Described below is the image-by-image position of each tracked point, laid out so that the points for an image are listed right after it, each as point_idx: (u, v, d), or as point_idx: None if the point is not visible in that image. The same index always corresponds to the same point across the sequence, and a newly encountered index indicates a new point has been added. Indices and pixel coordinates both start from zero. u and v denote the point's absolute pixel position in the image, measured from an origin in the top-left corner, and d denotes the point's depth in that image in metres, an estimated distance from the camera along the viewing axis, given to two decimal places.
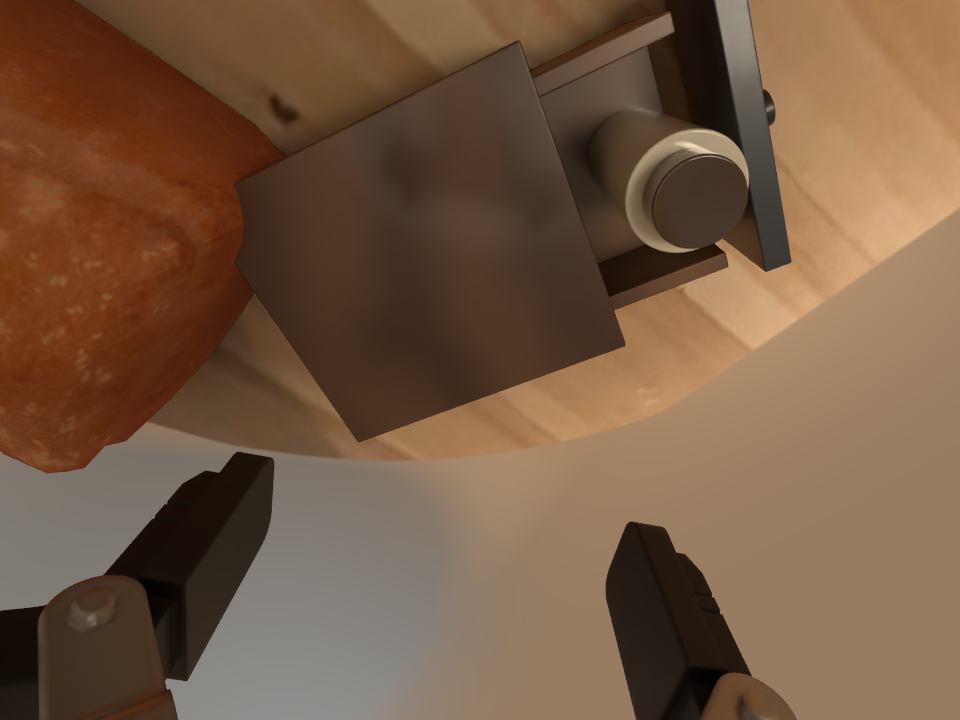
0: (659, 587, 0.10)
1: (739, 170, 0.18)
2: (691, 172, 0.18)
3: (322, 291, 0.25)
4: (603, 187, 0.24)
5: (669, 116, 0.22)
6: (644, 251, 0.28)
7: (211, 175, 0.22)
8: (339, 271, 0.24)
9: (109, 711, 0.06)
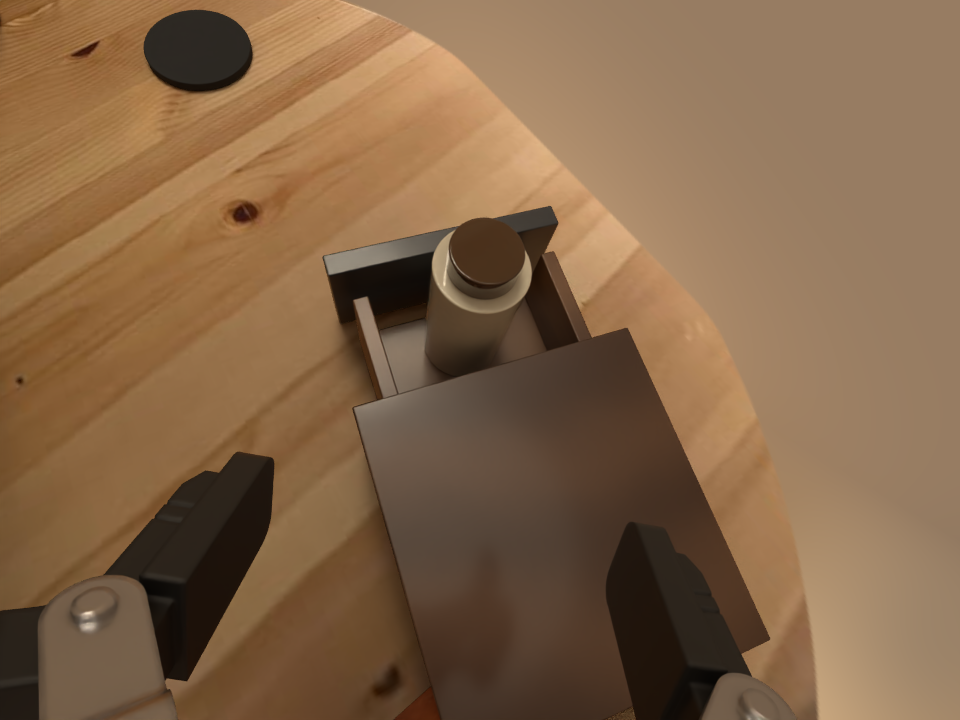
0: (659, 587, 0.10)
1: (463, 224, 0.22)
2: (461, 256, 0.22)
3: (569, 643, 0.21)
4: (480, 350, 0.27)
5: None
6: (543, 328, 0.31)
7: None
8: (546, 617, 0.22)
9: (109, 711, 0.06)
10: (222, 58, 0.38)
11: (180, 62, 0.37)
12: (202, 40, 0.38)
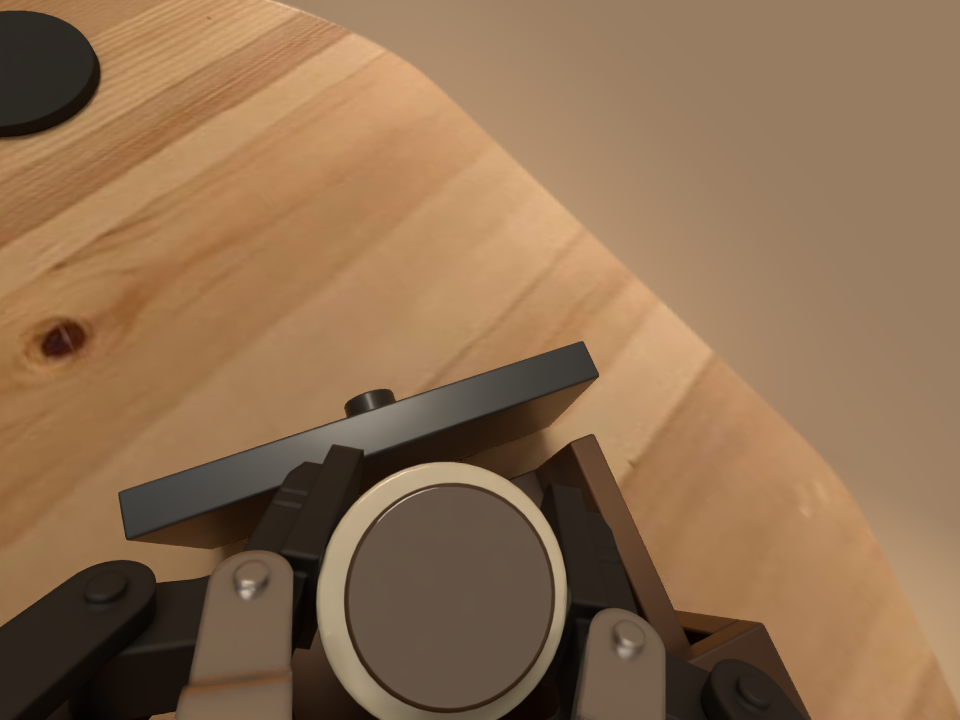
0: (561, 537, 0.11)
1: (386, 512, 0.08)
2: (380, 623, 0.08)
3: None
4: None
5: None
6: None
7: None
8: None
9: (243, 676, 0.07)
10: (46, 84, 0.24)
11: None
12: (15, 56, 0.24)
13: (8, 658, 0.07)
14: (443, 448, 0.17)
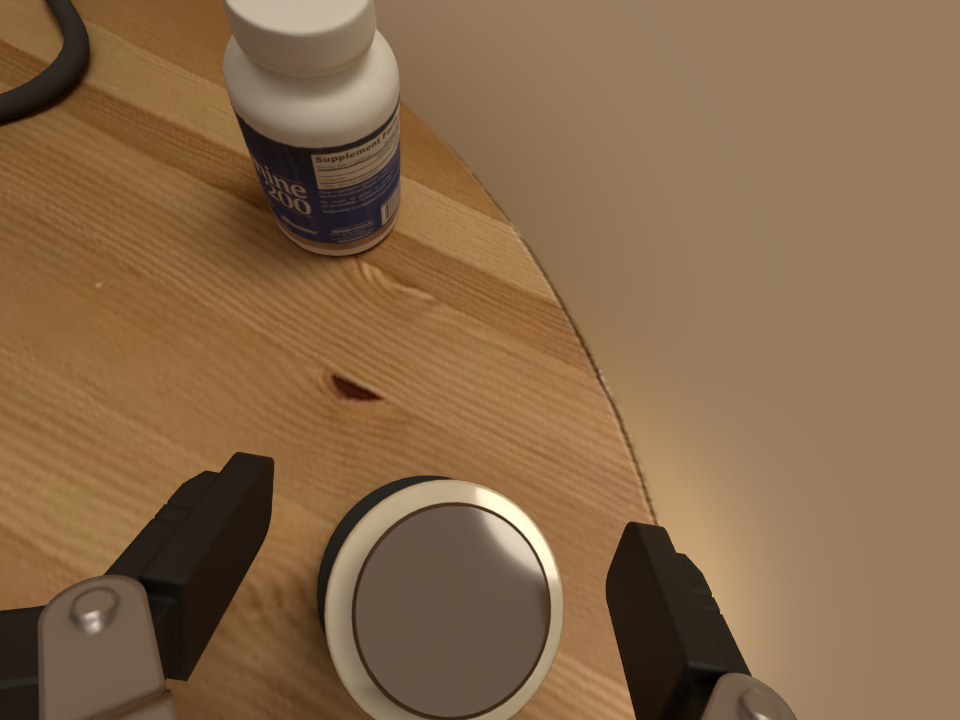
0: (659, 587, 0.10)
1: (391, 531, 0.09)
2: (386, 636, 0.08)
3: None
4: None
5: None
6: None
7: None
8: None
9: (109, 711, 0.06)
10: None
11: None
12: None
13: None
14: None
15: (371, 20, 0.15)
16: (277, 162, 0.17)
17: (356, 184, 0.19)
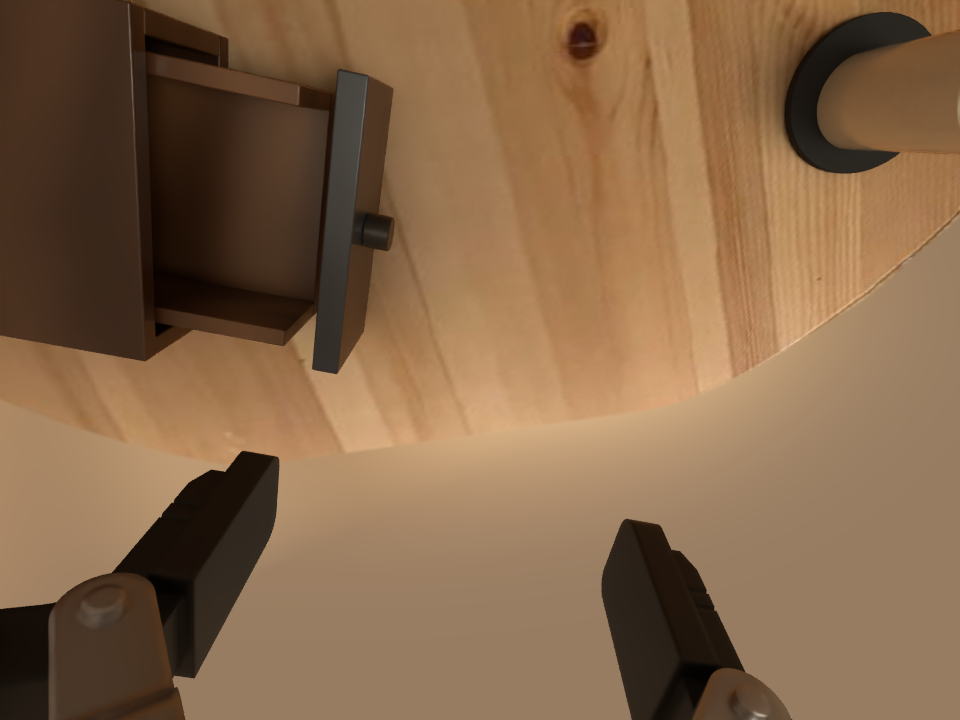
0: (653, 584, 0.10)
1: None
2: None
3: None
4: (885, 144, 0.23)
5: (913, 43, 0.22)
6: (252, 297, 0.28)
7: None
8: None
9: (117, 708, 0.06)
10: None
11: None
12: None
13: None
14: None
15: None
16: None
17: None
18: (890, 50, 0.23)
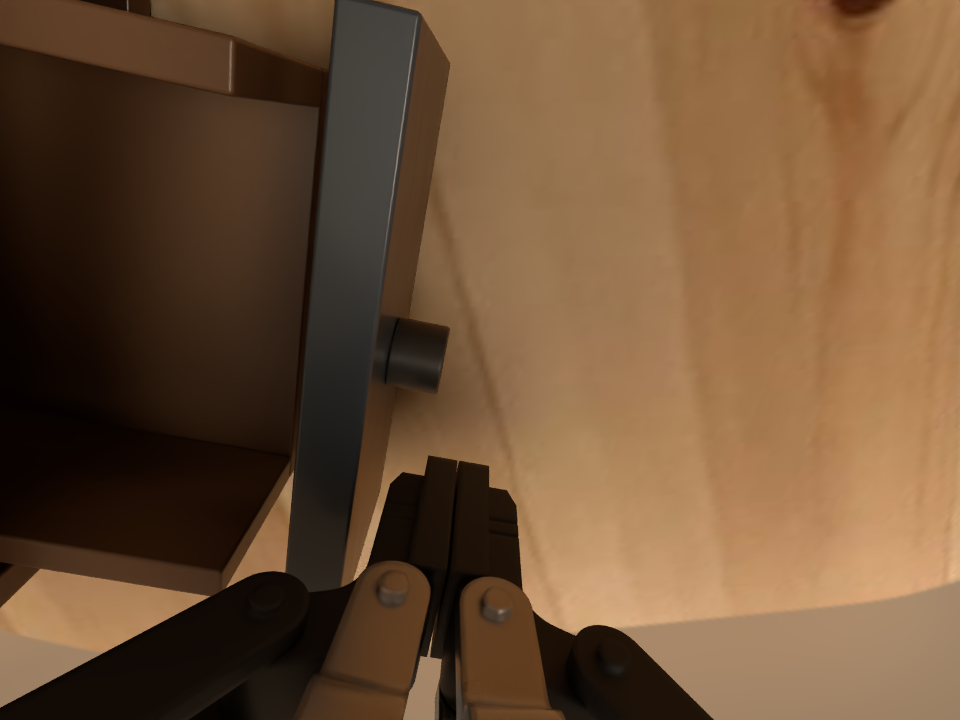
0: (456, 511, 0.11)
1: None
2: None
3: None
4: None
5: None
6: (173, 455, 0.15)
7: None
8: None
9: (366, 681, 0.07)
10: None
11: None
12: None
13: (178, 645, 0.07)
14: None
15: None
16: None
17: None
18: None
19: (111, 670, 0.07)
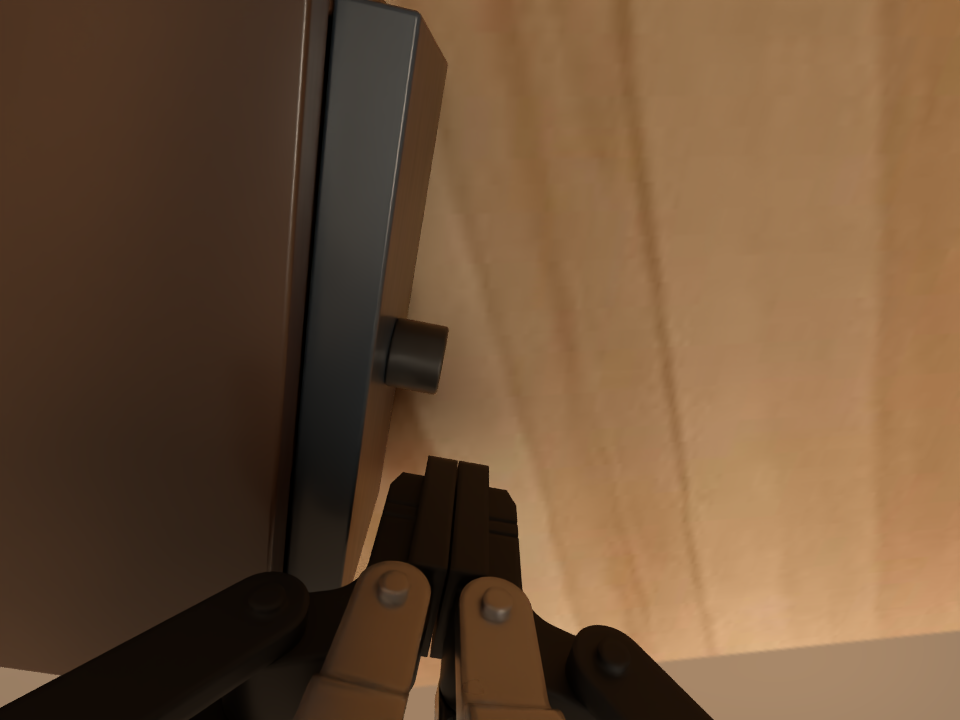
0: (456, 511, 0.11)
1: None
2: None
3: None
4: None
5: None
6: None
7: None
8: None
9: (366, 681, 0.07)
10: None
11: None
12: None
13: (178, 645, 0.07)
14: None
15: None
16: None
17: None
18: None
19: (111, 670, 0.07)
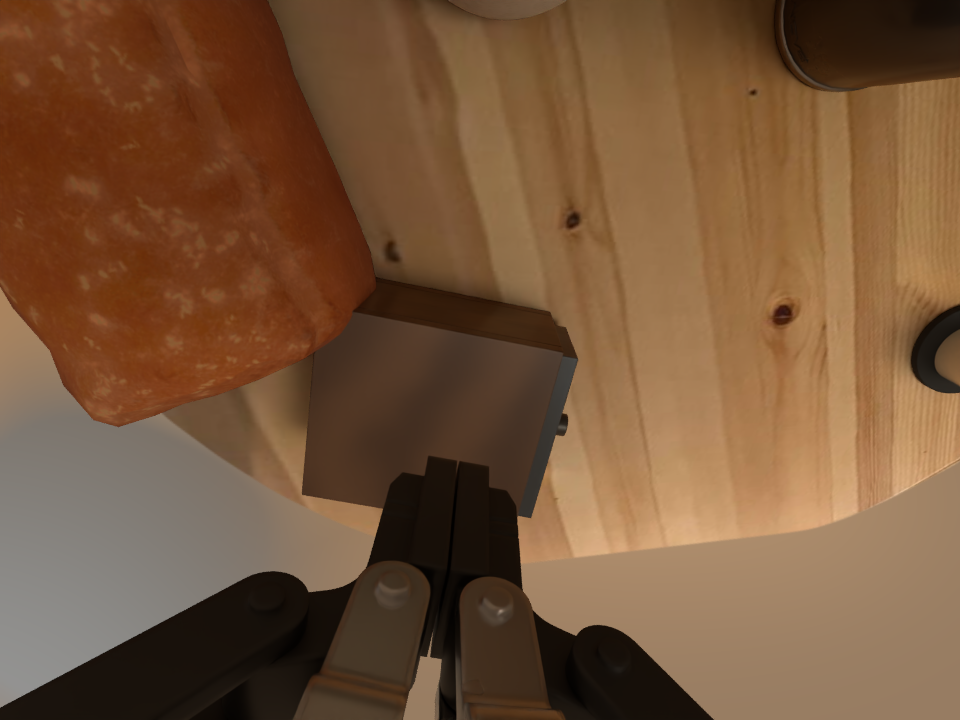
0: (456, 511, 0.11)
1: None
2: None
3: (357, 397, 0.34)
4: None
5: None
6: None
7: (345, 302, 0.31)
8: (377, 393, 0.34)
9: (366, 681, 0.07)
10: None
11: None
12: None
13: (178, 645, 0.07)
14: None
15: None
16: None
17: None
18: None
19: (111, 670, 0.07)
